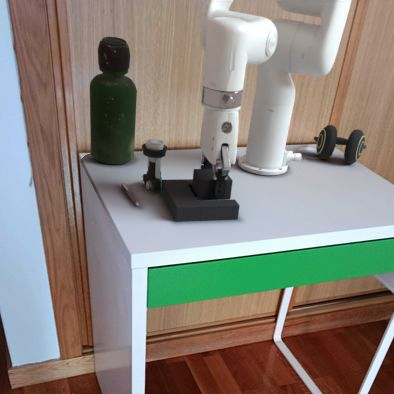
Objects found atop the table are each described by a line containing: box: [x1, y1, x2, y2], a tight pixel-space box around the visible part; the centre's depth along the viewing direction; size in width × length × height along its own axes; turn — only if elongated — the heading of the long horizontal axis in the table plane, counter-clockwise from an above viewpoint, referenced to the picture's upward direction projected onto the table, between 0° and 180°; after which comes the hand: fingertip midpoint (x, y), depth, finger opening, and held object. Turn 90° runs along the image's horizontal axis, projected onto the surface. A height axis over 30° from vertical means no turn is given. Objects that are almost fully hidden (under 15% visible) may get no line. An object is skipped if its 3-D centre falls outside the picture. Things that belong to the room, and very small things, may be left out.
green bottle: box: [89, 36, 138, 165], centre depth 113 cm, size 10×10×25 cm
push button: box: [141, 138, 168, 194], centre depth 107 cm, size 7×5×10 cm
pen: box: [120, 182, 140, 207], centre depth 105 cm, size 11×1×1 cm, turn 25°
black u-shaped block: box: [160, 178, 241, 223], centre depth 104 cm, size 13×14×3 cm
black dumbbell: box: [313, 124, 367, 165], centre depth 138 cm, size 9×15×20 cm
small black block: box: [192, 168, 233, 200], centre depth 103 cm, size 6×6×4 cm
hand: (211, 190), depth 104 cm, fingers closed on small black block, 6 cm apart
